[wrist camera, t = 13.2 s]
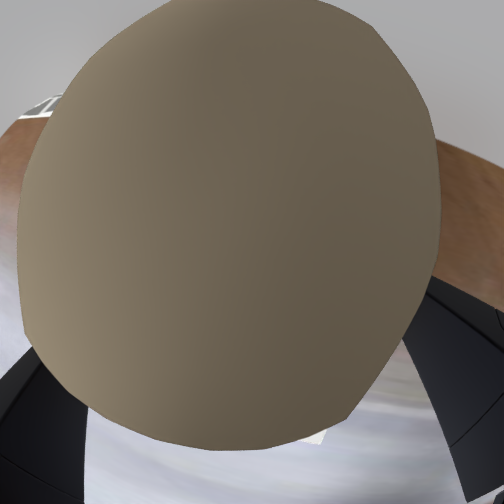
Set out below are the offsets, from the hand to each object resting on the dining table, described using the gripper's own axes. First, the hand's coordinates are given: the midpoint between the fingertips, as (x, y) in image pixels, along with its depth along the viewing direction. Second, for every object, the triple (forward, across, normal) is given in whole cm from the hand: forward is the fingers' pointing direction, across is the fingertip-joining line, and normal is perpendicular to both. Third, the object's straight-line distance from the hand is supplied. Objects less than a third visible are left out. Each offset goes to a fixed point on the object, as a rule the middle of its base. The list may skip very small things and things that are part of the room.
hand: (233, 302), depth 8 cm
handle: (+8, 0, +6) cm, 10 cm away
